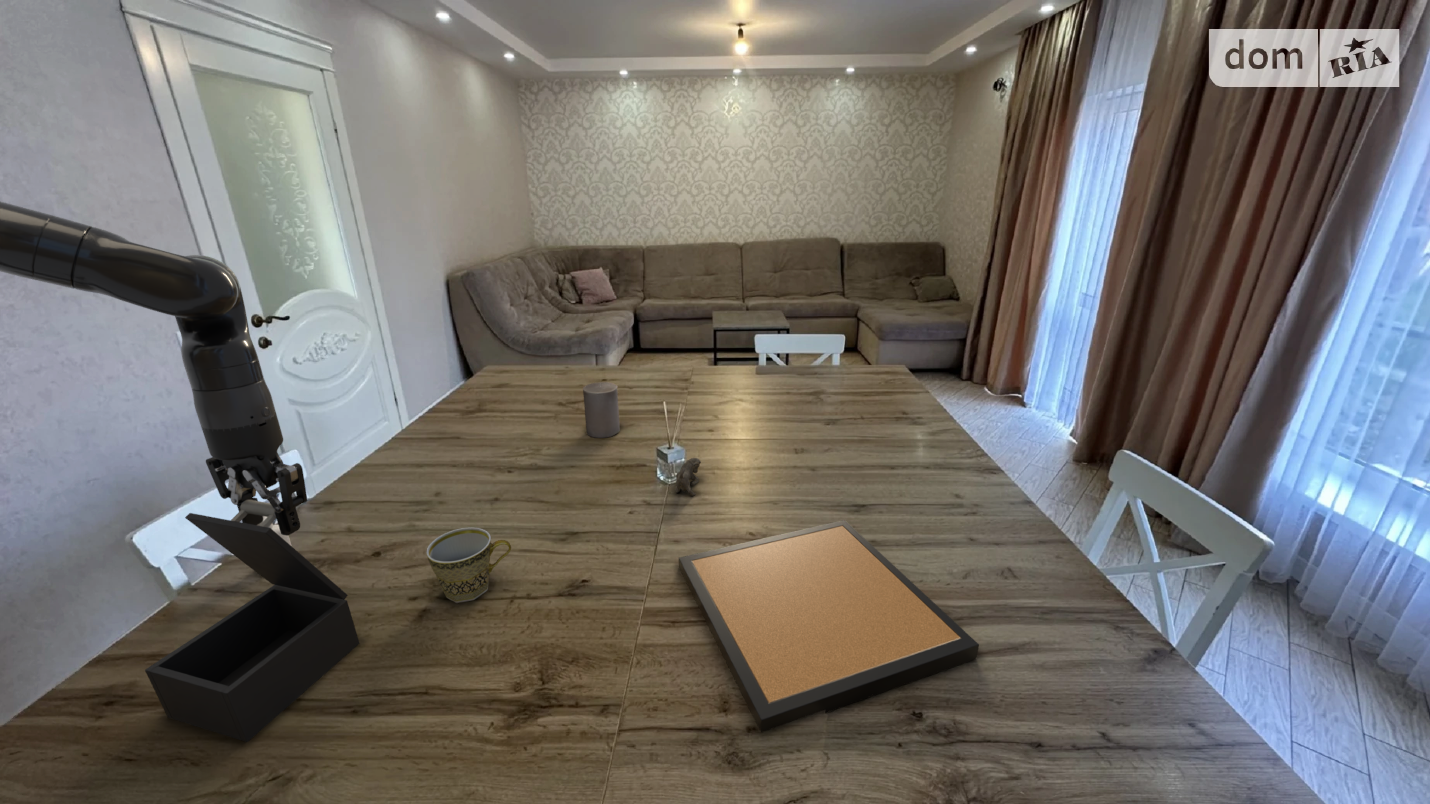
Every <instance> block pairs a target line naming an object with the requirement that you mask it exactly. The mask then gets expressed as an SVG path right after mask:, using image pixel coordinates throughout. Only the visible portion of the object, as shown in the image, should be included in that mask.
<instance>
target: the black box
mask: <svg viewBox="0 0 1430 804" xmlns="http://www.w3.org/2000/svg"><path fill="white" fill-rule="evenodd" d="M359 645H360V640H359V636H358V633H357V630H356V626H355V623H354V620H353V616H352V612H351V610H350V606H349V602H348V600H347V599H345V600H343V599H338V598H333V597H329V596H324V595H320V594H315V593H310V592H306V591H301V590H297V589H292V588H288V587H283V586H278V585H274V584H272V586H270V587H269V588H267V589H265V590H263V592H261V593H259V594H258V595H256V596H255V597H254V598H252V599H251V600H248V601H247V602H246V603H244V604H243V605H242V606H240V607H238V608H237V609H235V610H234V611H232V612H231V613H229V614H228V615H226V616H225V617H223V618H222V619H220V620H219V621H217V622H215V623H213V624H212V625H210V626H209V627H208V628H207V629H205V630H203V631H201V632H199V634H197V635H196V636H193V638H191V639H189V640H188V641H186V642H185V643H184V644H181V645H180V646H179V647H178V648H176V649H174V650H173V651H171V652H170V653H168V654H166V655H165V656H164V657H162V658H161V659H159V660H157V661H156V662H155V663H152V664H151V665H149V667H147V668H146V669H144V671H145V673H146V676H147V678H148V680H149V682H150V684H151V686H152V688H153V690H154V692H155V694H156V696H157V699H158V700H159V702H160V705H161V707H162V709H163V711H164V713H165V715H166V717H167V719H168V718H169V719H171V720H175V721H178V722H181V723H184V724H188V725H191V726H194V727H197V728H201V729H204V730H207V731H211V732H212V733H217V734H219V735H223V736H225V737H229V738H233V739H236V740H239V741H242V742H244V743H245V742H246V743H248V742H250V740H252V739H253V738H254V737H255V736H256V735H257V734H259V733H260V732H261V731H262V730H263V729H264V728H265V727H267V726H268V725H269V724H270V723H271V722H272V721H273V720H275V719H276V718H277V717H278V716H279V715H280V714H281V713H283V711H285V710H286V709H287V708H289V706H290V705H291V704H293V703H294V702H295V701H296V700H297V699H298V698H299V697H301V696H302V695H303V694H304V693H305V692H307V690H308V689H310V688H311V687H312V686H313V685H314V684H315V683H317V681H319V680H320V679H321V678H322V677H323V676H325V674H327V673H328V672H329V671H330V670H332V668H333V667H335V666H336V665H337V664H338V663H339V662H341V660H342V659H344V658H345V657H346V656H348V654H350V652H352V651H353V650H354V649H355V648H356V647H358V646H359Z"/></svg>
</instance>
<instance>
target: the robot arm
mask: <svg viewBox="0 0 1430 804" xmlns="http://www.w3.org/2000/svg"><path fill="white" fill-rule="evenodd" d="M0 272H1V273H5V274H8V275H12V276H16V277H20V278H25V279H28V280H33V281H38V282H42V283H46V284H51V285H55V286H60V287H64V288H69V289H75V290H78V291H82V292H88V293H94V294H98V295H99V294H100V295H102V296H103V295H104V296H107V297H111V298H114V299H116V300H118V301H121V302H125V303H128V304H131V305H134V306H138V307H141V308H143V309H147V310H151V311H154V312H157V313H161V314H164V315H169V316H172V317H174V318H175V321H176V324H177V327H178V330H179V333H180V337H181V346H180V351H181V352H180V353H181V359H182V363H183V367H184V370H185V373H186V376H187V379H188V383H189V385H190V388H191V392H192V397H193V398H192V399H193V405H194V409H195V413H196V416H197V418H198V421H199V424H200V428H201V431H202V434H203V437H204V439H205V443H206V446H207V449H208V452H209V454H210V456H211V457H209V458H207V459H205V464H206V467H207V469H208V471H209V473H210V476H211V478H212V480H213V483H214V485H215V488H216V489H217V492H218V494H219V496H220V497H221V499H223V500H226V499H230V502H231V503H232V504H233V505H234V506H236V508H237V510H238V513H239V512H240V511H241V509H240V506H241V504H242V503H243V502H244V501H246V500H254V501H259V500H258V497H256V496H257V494H258V495H259V497H260V498H261V499H262V500H266V501H267V502H268V503H270V504H271V505H272V507H273V508H274V510H275V511H276V512H275V515H276V521H277V525H279V529H280V532H281V534H282V535H287V536H290V535H292V534H293V533H295V532H297V531H299V530H300V528H301V522H300V518H299V515H298V510H297V507H298V506H300V505H303V504H305V503H307V502H308V494H307V487H306V483H305V482H306V481H305V475H304V469H303V466H302V465H301V463H299V462H296V463H293V464H291V465H289V464H286V463H284V461H283V459H282V458H281V456H280V455H279V453H278V451H279V450H278V449H279V448H280V446H281V445H282V444H283V442H284V436H283V433H282V429H281V425H280V422H279V418H278V415H277V411H276V408H275V404H274V401H273V396H272V393H271V391H270V389H269V387H268V385H267V383H266V380H265V378H264V374H263V369H262V367H261V363H260V360H259V355H258V353H257V350H256V347H255V345H254V343H253V340H252V337H251V333H250V329H249V321H248V317H247V316H248V315H247V311H246V305H245V301H244V295H243V292H242V287H241V285H240V282H239V278H238V276H237V275H236V274H235V272H234V270H232V269H231V268H230V267H229V266H228V265H226V263H224V262H222V261H220V260H219V259H216V258H215V257H211V256H207V255H201V254H190V255H189V254H188V255H181V254H177V253H173V252H170V251H166V250H162V249H159V248H154V247H150V246H147V245H143V244H139V243H136V242H132V241H130V240H128V239H127V238H125V237H123V236H121V235H119V234H116V233H114V232H111V231H109V230H105V229H102V228H99V227H96V226H95V227H94V226H92V225H88V224H85V223H83V222H82V223H81V222H77V221H74V220H70V219H67V218H64V217H60V216H56V215H53V214H49V213H45V212H41V211H37V210H34V209H30V208H27V207H23V206H19V205H15V204H12V203H8V202H4V201H0ZM226 481H228V482H227V484H226ZM277 483H278V487H275V488H273V489H269V488H271V487H273V486H275V485H277ZM279 493H280V496H281V498H280V499H281V500H280V499H279V498H278V496H277V495H278V494H279ZM295 494H296V495H295ZM262 521H263V516H260V515H254V514H249V513H248V514H247V515H246V516H245V517H244V518H243V519H242V520H241V523H247V524H252V525H258V524H260V523H261V522H262Z"/></svg>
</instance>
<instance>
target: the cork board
mask: <svg viewBox="0 0 1430 804" xmlns="http://www.w3.org/2000/svg"><path fill="white" fill-rule="evenodd" d="M678 569H679V570H680V572H681V575H682V577H683V579H684V581H685V582H686V585H687V587H688V589H689V591H690V593H691V595H692V597H693V600H694V601H695V603H696V605H697V607H698V609H699V611H700V613H701V616H702V617H703V619H704V620H705V623H706V624H707V627H708V629H709V631H710V633H711V635H712V637H713V639H714V641H715V643H716V646H717V647H718V649H719V651H720V653H721V655H722V657H723V659H724V661H725V664H726V666H727V667H728V669H729V671H730V673H731V675H732V677H733V679H734V681H735V683H736V686H737V687H738V689H739V692H740V694H741V696H742V697H743V700H744V701H745V704H746V706H747V707H748V709H749V711H750V713H751V715H752V718H753V719H754V722H755V723H756V726H757V728H758V730H759V731H760V733H764V732H766V731H769V730H772V729H775V728H777V727H780V726H784V725H785V724H788V723H789V724H790V723H791V722H794V721H797V720H800V719H802V718H805V717H808V716H811V715H814V714H817V713H820V712H823V711H824V713H825V714H826V713H829V712H832V711H835V710H838V709H841V708H844V707H846V706H849V705H852V704H855V703H857V702H861V701H863V700H866V699H868V698H871V697H874V696H877V695H879V694H883V693H886V692H888V691H890V690H894V689H896V688H899V687H903V686H905V685H908V684H910V683H913V682H916V681H919V680H922V679H924V678H928V677H930V676H934V675H936V674H939V673H941V672H944V671H947V670H949V669H953V668H955V667H958V666H960V665H964V664H966V663H969V662H972V661H974V660H977V657H978V652H979V647H980V644H979V643H978V642H977V641H976V640H975V639H974V638H973V637H972V636H971V635H969V634H968V633H967V632H966V631H965V630H964V629H963V628H962V627H961V626H959V624H958V623H957V622H955V621H954V620H953V619H952V618H951V617H950V616H949V615H948V614H947V613H946V612H945V611H943V610H942V609H941V608H940V607H939V606H938V605H937V604H936V603H935V602H934V601H933V600H932V599H931V598H929V597H928V596H927V594H925V593H924V592H923V591H922V590H921V588H919V587H918V586H917V585H915V584H914V583H913V582H912V581H911V580H910V579H909V578H908V577H907V576H906V575H905V574H904V573H903V572H901V571H900V569H898V568H897V567H896V566H895V565H894V564H893V563H892V562H891V561H890V560H889V559H887V557H885V556H884V555H883V554H882V553H881V552H880V551H879V550H878V549H877V548H876V547H875V546H874V545H872V544H871V542H869V541H868V540H867V539H866V538H865V537H864V536H863V535H862V534H861V533H859V532H858V531H857V529H855V528H854V527H853V526H852V525H851V524H850V523H848V521H846V520H845V519H842V520H838V521H833V522H828V523H825V524H824V523H823V524H820V525H816V526H810V527H806V528H803V529H802V528H801V529H798V530H793V531H789V532H785V533H780V534H776V535H772V536H767V537H763V538H758V539H755V540H750V541H745V542H741V543H736V544H732V545H728V546H723V547H719V548H715V549H710V550H706V551H701V552H696V553H692V554H688V555H684V556H680V557H678Z"/></svg>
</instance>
